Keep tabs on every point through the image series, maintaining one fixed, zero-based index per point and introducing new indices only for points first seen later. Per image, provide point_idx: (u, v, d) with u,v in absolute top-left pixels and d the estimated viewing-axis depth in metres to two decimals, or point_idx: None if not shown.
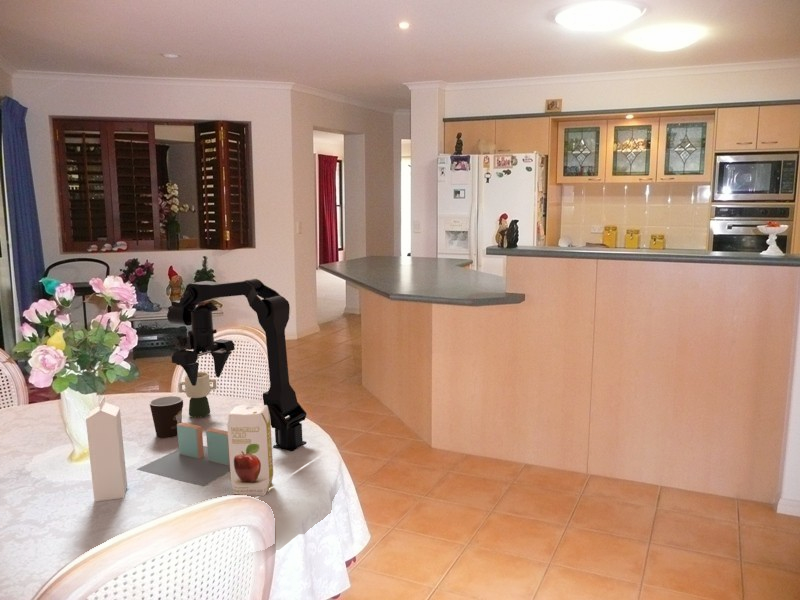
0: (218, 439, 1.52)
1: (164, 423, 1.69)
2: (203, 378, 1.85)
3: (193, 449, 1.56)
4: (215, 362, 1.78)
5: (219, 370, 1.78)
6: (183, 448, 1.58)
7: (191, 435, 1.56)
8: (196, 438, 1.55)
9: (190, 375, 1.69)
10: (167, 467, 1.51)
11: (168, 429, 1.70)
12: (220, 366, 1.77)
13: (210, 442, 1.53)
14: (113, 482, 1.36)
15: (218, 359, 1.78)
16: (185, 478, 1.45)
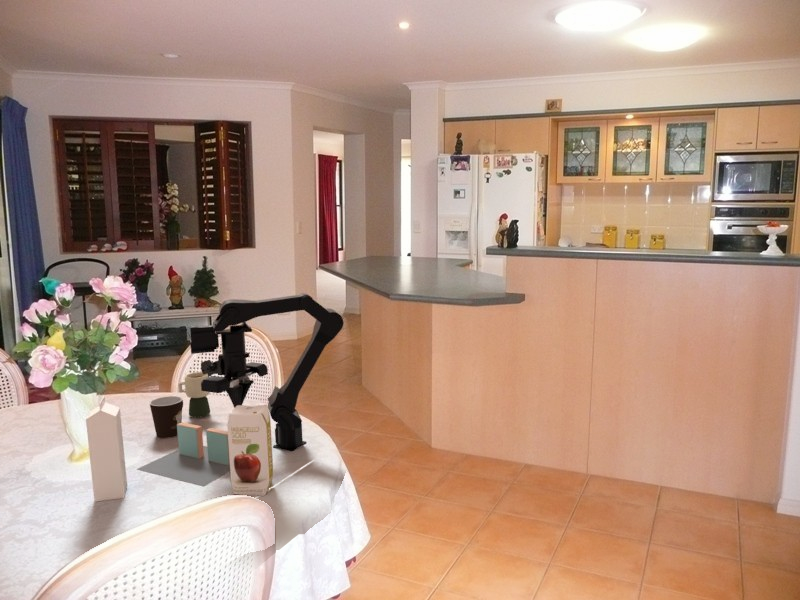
0: (218, 439, 1.52)
1: (164, 423, 1.69)
2: (203, 378, 1.85)
3: (193, 449, 1.56)
4: None
5: None
6: (183, 448, 1.58)
7: (191, 435, 1.56)
8: (196, 438, 1.55)
9: (233, 399, 1.57)
10: (167, 467, 1.51)
11: (168, 429, 1.70)
12: (241, 397, 1.57)
13: (210, 442, 1.53)
14: (113, 482, 1.36)
15: None
16: (185, 478, 1.45)
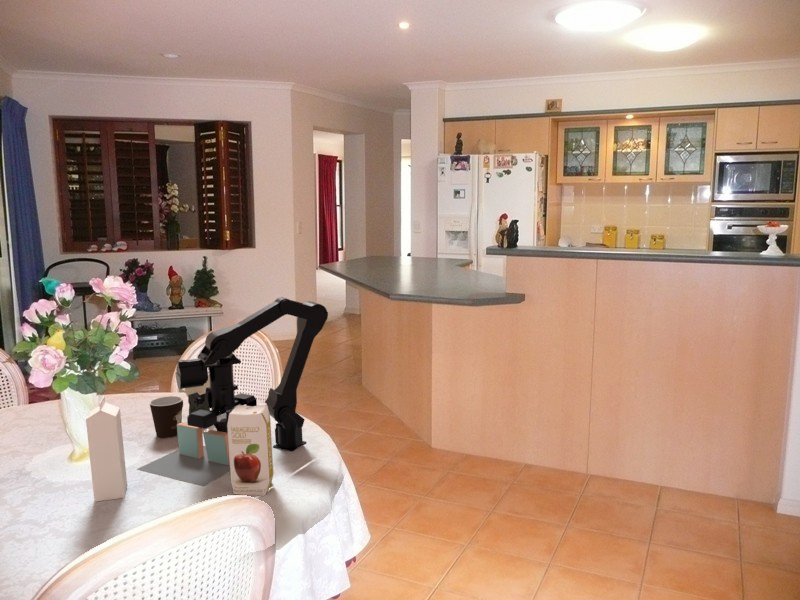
0: (216, 441, 1.51)
1: (164, 423, 1.69)
2: None
3: (193, 449, 1.56)
4: None
5: None
6: (183, 448, 1.58)
7: (191, 435, 1.56)
8: (196, 438, 1.55)
9: None
10: (167, 467, 1.51)
11: (168, 429, 1.70)
12: None
13: (208, 443, 1.53)
14: (113, 482, 1.36)
15: None
16: (185, 478, 1.45)
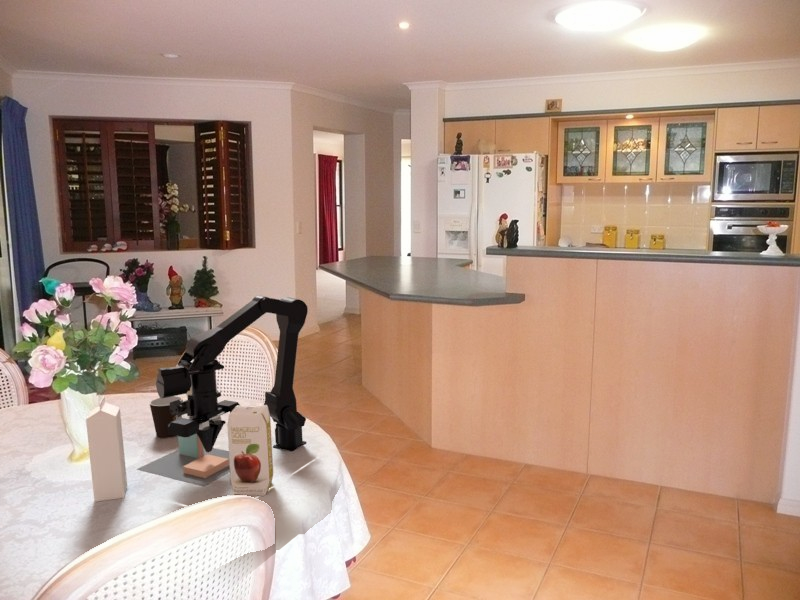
0: None
1: (164, 423, 1.69)
2: None
3: (193, 449, 1.56)
4: None
5: None
6: (183, 448, 1.58)
7: None
8: (196, 438, 1.55)
9: (204, 441, 1.48)
10: (167, 467, 1.51)
11: None
12: (212, 439, 1.49)
13: None
14: (113, 482, 1.36)
15: None
16: (185, 478, 1.45)
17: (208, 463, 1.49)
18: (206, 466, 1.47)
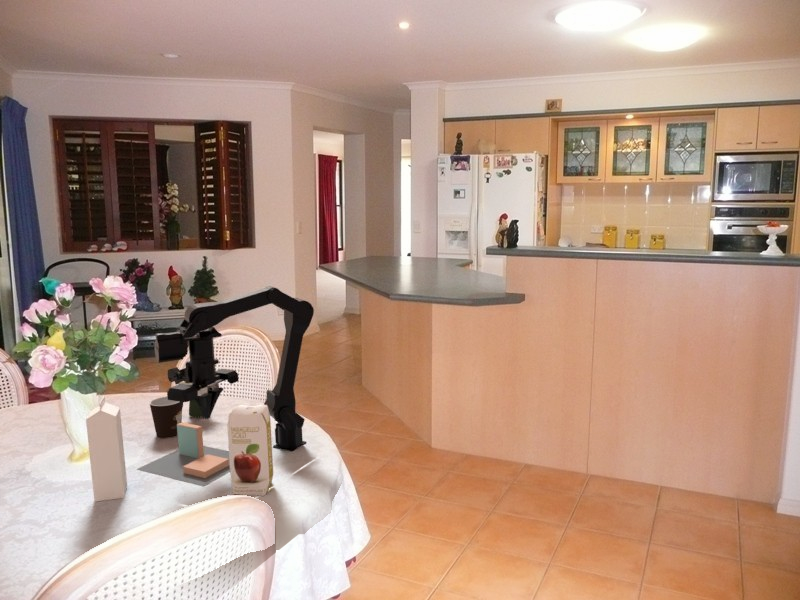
0: None
1: (164, 423, 1.69)
2: None
3: (193, 449, 1.56)
4: None
5: None
6: (183, 448, 1.58)
7: (191, 435, 1.56)
8: (196, 438, 1.55)
9: (202, 407, 1.50)
10: (167, 467, 1.51)
11: (168, 429, 1.70)
12: (210, 406, 1.51)
13: None
14: (113, 482, 1.36)
15: None
16: (185, 478, 1.45)
17: (208, 463, 1.49)
18: (206, 466, 1.47)
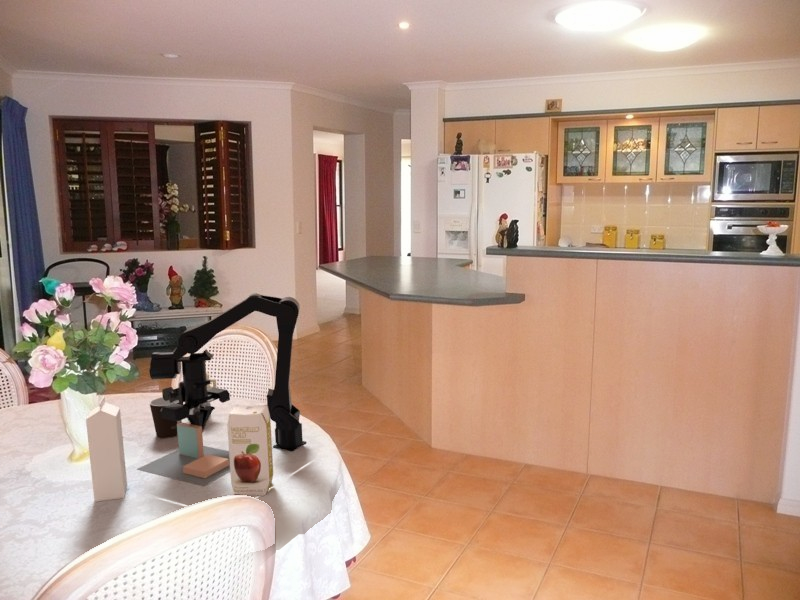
0: None
1: (164, 423, 1.69)
2: None
3: (193, 449, 1.56)
4: None
5: None
6: (183, 448, 1.58)
7: (191, 435, 1.56)
8: (196, 438, 1.55)
9: None
10: (167, 467, 1.51)
11: (168, 429, 1.70)
12: (202, 424, 1.60)
13: None
14: (113, 482, 1.36)
15: None
16: (185, 478, 1.45)
17: (208, 463, 1.49)
18: (206, 466, 1.47)
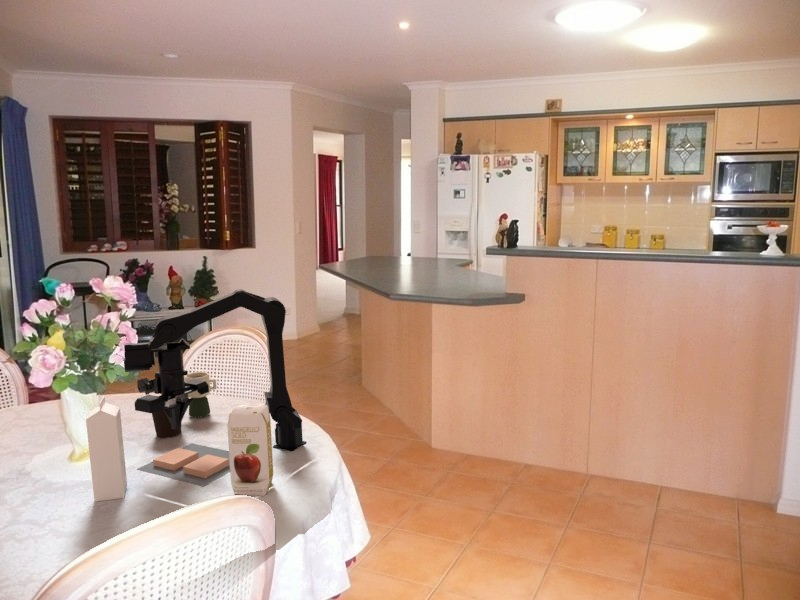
0: None
1: (164, 423, 1.69)
2: (203, 378, 1.85)
3: None
4: None
5: None
6: None
7: None
8: (181, 466, 1.51)
9: (171, 418, 1.52)
10: None
11: (168, 429, 1.70)
12: (179, 416, 1.53)
13: None
14: (113, 482, 1.36)
15: None
16: (185, 478, 1.45)
17: (208, 463, 1.49)
18: (206, 466, 1.47)
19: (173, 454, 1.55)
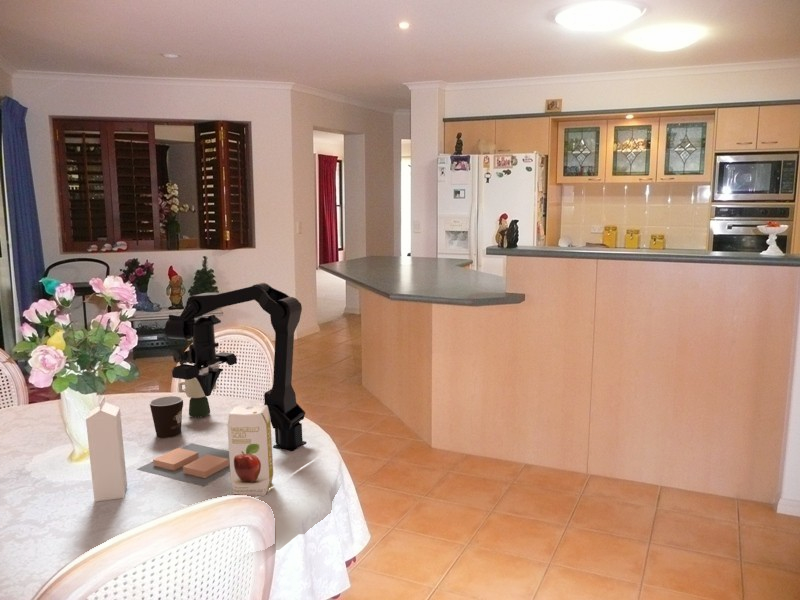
0: None
1: (164, 423, 1.69)
2: None
3: None
4: None
5: None
6: None
7: None
8: (181, 466, 1.51)
9: (203, 386, 1.68)
10: None
11: (168, 429, 1.70)
12: (211, 384, 1.69)
13: None
14: (113, 482, 1.36)
15: None
16: (185, 478, 1.45)
17: (208, 463, 1.49)
18: (206, 466, 1.47)
19: (173, 454, 1.55)
